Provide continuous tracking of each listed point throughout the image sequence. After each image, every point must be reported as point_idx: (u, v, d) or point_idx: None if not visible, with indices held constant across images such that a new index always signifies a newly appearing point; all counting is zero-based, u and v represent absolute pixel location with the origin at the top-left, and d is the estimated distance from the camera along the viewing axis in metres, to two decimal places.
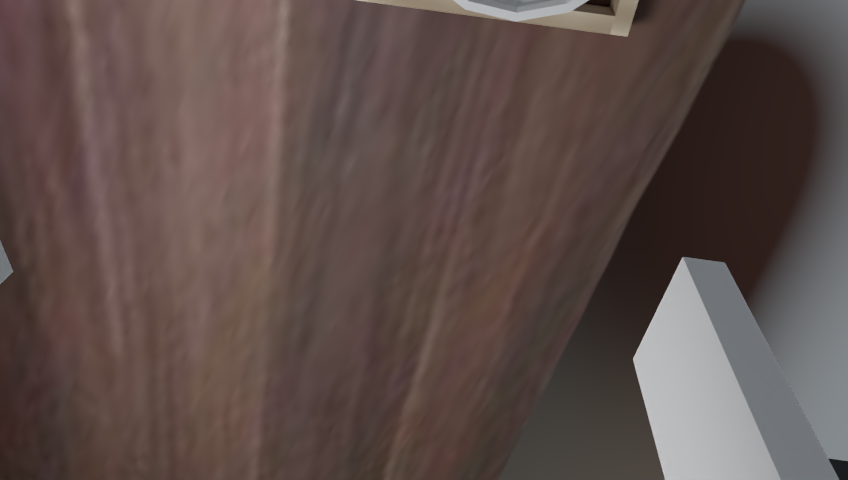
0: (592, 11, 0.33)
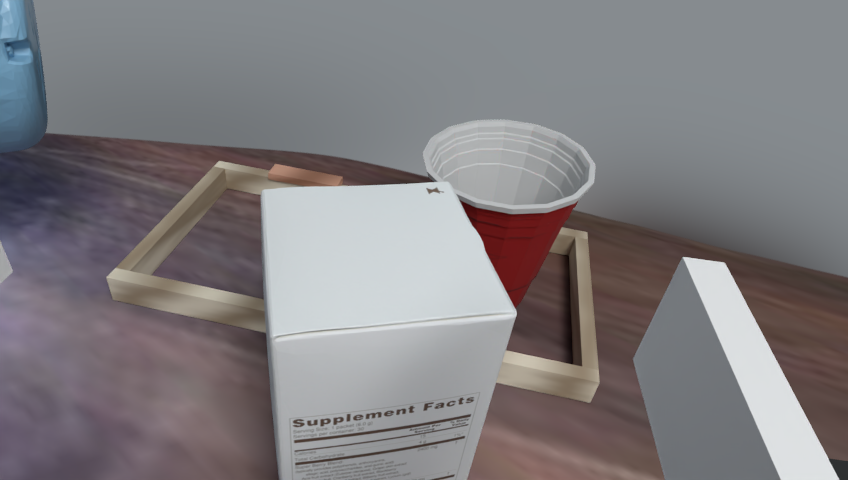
0: (574, 250, 0.46)
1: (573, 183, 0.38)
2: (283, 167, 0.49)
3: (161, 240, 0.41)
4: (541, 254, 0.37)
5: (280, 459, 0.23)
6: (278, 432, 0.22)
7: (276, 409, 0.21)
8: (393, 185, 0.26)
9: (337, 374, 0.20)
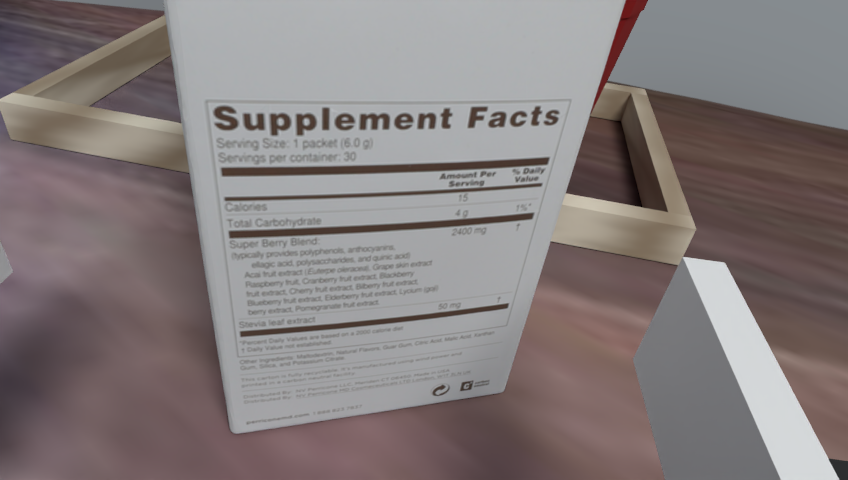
0: (631, 107, 0.36)
1: None
2: None
3: (85, 73, 0.31)
4: (606, 62, 0.27)
5: (199, 220, 0.12)
6: (187, 142, 0.11)
7: (176, 71, 0.10)
8: None
9: None
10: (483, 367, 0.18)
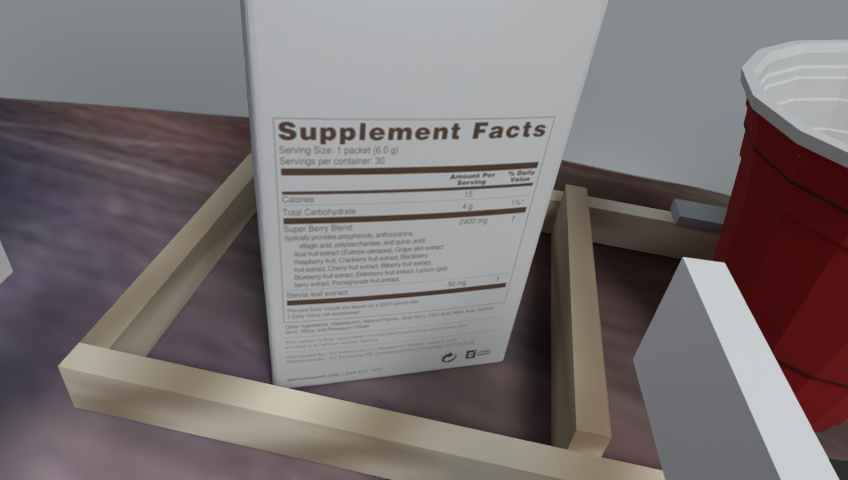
0: None
1: None
2: None
3: (173, 278, 0.21)
4: None
5: (261, 209, 0.15)
6: (257, 149, 0.14)
7: (252, 96, 0.14)
8: None
9: (347, 26, 0.13)
10: (484, 338, 0.21)
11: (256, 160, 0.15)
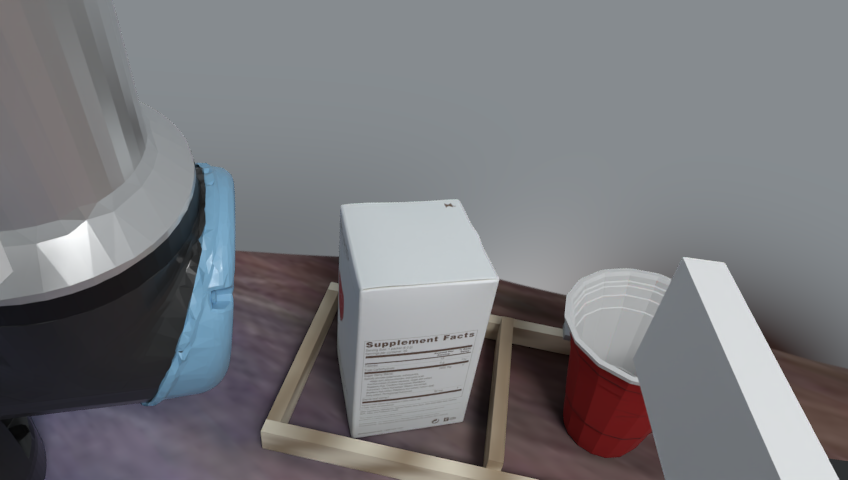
0: None
1: None
2: None
3: (299, 381, 0.43)
4: None
5: (356, 369, 0.37)
6: (357, 350, 0.36)
7: (357, 335, 0.35)
8: (423, 201, 0.41)
9: (394, 313, 0.35)
10: (452, 412, 0.43)
11: (356, 353, 0.37)
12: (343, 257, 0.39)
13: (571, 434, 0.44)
